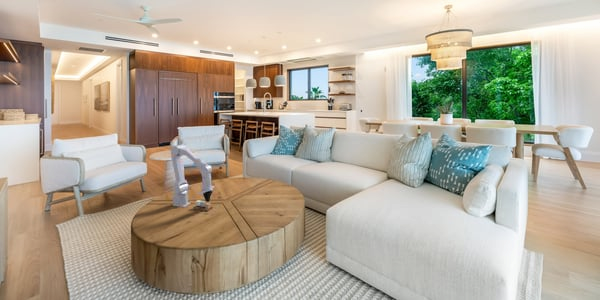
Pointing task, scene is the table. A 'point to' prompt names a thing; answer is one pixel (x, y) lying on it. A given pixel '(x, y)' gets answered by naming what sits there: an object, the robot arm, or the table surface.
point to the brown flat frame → (202, 208)
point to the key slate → (202, 203)
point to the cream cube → (198, 202)
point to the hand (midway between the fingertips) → (207, 201)
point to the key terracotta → (207, 205)
